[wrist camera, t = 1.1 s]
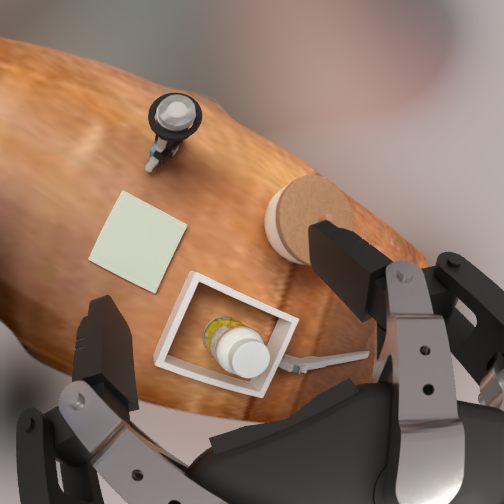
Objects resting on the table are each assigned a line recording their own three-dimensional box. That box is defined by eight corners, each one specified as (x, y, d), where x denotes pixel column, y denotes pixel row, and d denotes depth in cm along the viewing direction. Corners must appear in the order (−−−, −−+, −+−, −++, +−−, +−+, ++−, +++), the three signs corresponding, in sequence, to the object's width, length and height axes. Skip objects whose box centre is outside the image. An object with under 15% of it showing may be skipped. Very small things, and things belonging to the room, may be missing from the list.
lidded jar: (238, 242, 35) (271, 237, 27) (271, 174, 37) (308, 152, 29) (302, 277, 39) (346, 282, 30) (327, 213, 41) (371, 203, 32)
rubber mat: (155, 293, 31) (155, 293, 31) (89, 259, 28) (88, 259, 28) (187, 225, 33) (187, 224, 32) (123, 191, 30) (122, 190, 29)
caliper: (267, 359, 37) (289, 375, 31) (268, 352, 37) (291, 367, 31) (366, 355, 45) (391, 364, 39) (367, 350, 45) (393, 358, 39)
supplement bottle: (193, 339, 33) (213, 367, 24) (219, 306, 34) (248, 323, 25) (225, 362, 34) (254, 392, 26) (250, 330, 36) (285, 352, 27)
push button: (163, 184, 32) (173, 155, 23) (130, 160, 30) (128, 124, 21) (194, 144, 33) (215, 106, 24) (162, 122, 32) (172, 79, 22)
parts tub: (252, 387, 36) (262, 398, 32) (153, 354, 31) (154, 365, 28) (285, 314, 38) (299, 319, 35) (190, 270, 33) (195, 271, 30)
